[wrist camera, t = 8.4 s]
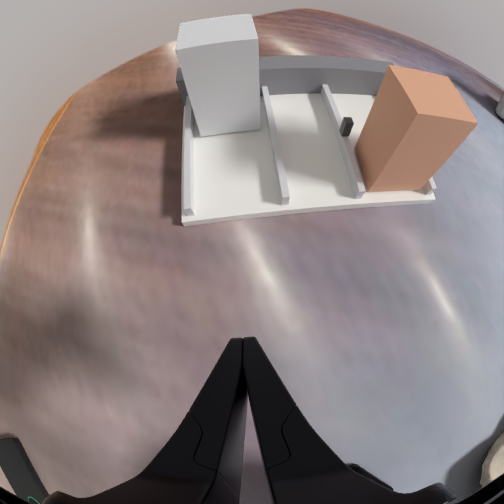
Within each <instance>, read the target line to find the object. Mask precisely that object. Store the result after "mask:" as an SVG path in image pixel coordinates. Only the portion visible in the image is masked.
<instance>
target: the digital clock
mask: <svg viewBox="0 0 504 504" xmlns="http://www.w3.org/2000/svg"><path fill="white" fill-rule="evenodd" d="M496 113H497V115H498V116H499V117H501V118H502V119H503V120H504V93H503V95H502V97H501V99H500V101H499V103H498V105H497V107H496Z"/></svg>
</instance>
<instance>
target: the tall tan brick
mask: <svg viewBox="0 0 504 504" xmlns="http://www.w3.org/2000/svg"><path fill="white" fill-rule="evenodd" d="M477 124H478V123H477V121H476V119H475V118H474V116H473V114H472V113H471V111H470V109H469V108H468V106H467V104H466V103H465V101H464V100H463V98H462V97H461V95H460V94H459V92H458V91H457V89H456V88H455V86H454V85H453V83H452V82H451V80H450V79H449V78H448V77H446V76H442V75H438V74H434V73H429V72H425V71H420V70H415V69H410V68H404V67H399V66H392V65H388V67H387V70H386V72H385V75H384V78H383V80H382V83H381V85H380V88H379V90H378V93H377V95H376V98H375V100H374V103H373V105H372V108H371V110H370V112H369V115H368V117H367V120H366V122H365V124H364V127H363V129H362V131H361V134H360V136H359V138H358V141H357V143H356V145H355V148H354V149H355V152H356V155H357V158H358V161H359V164H360V167H361V170H362V173H363V177H364V180H365V183H366V186H367V190H368V192H377V191H399V190H420V189H421V188H422V187H423V185H424V184H425V183H426V182H427V181H428V180H429V179H430V178H431V177H432V176H433V175H434V174H435V173H436V171H437V170H438V169H439V168H440V167H441V166H442V165H443V164H444V163H445V162H446V160H447V159H448V158H449V157H450V156H451V155H452V154H453V152H454V151H455V150H456V149H457V148H458V147H459V146H460V144H461V143H462V142H463V141H464V140H465V139H466V137H467V136H468V135H469V134H470V133H471V131H472V130H473V129H474V128H475V127H476V125H477Z"/></svg>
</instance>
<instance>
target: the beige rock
mask: <svg viewBox="0 0 504 504" xmlns="http://www.w3.org/2000/svg"><path fill="white" fill-rule="evenodd" d="M503 473H504V432H503V433H502V434H501V435H500V436H499V437H498V438H497V439H496V441H495V442H494V443H493V445H492V446H491V449H490V450H489V452H488V456H487V457H486V458H485V461H484V463H483V465H482V475H481V480H480V484H481V485H482V487H484V486H485V485H487V484H488V483H490V482H491V481H493V480H494V479H496V478H497V477H499V476H500V475H502V474H503Z"/></svg>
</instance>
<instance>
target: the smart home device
mask: <svg viewBox="0 0 504 504" xmlns="http://www.w3.org/2000/svg"><path fill="white" fill-rule="evenodd" d="M0 466H1V468H2V470H3V472H4V474H5V476H6V478H7V479H8V481H9V483H10V485H11V487H12V488H13V490H14V492H15V493H16V495H17V496H18V497H20V498H22V499H23V500H25V501H27V502H29V503H31V504H42V502H43V501H44V500H45V498H47V497H48V496H49V494H48V492H47V491H46V489H45V487H44V486H43V484H42V482H41V481H40V479H39V477H38V475H37V474H36V472H35V470H34V468H33V466H32V464H31V462H30V460H29V458H28V456H27V454H26V452H25V450H24V448H23V446H22V444H21V442H20V441H19V439H18V438H8V439H0Z"/></svg>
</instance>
